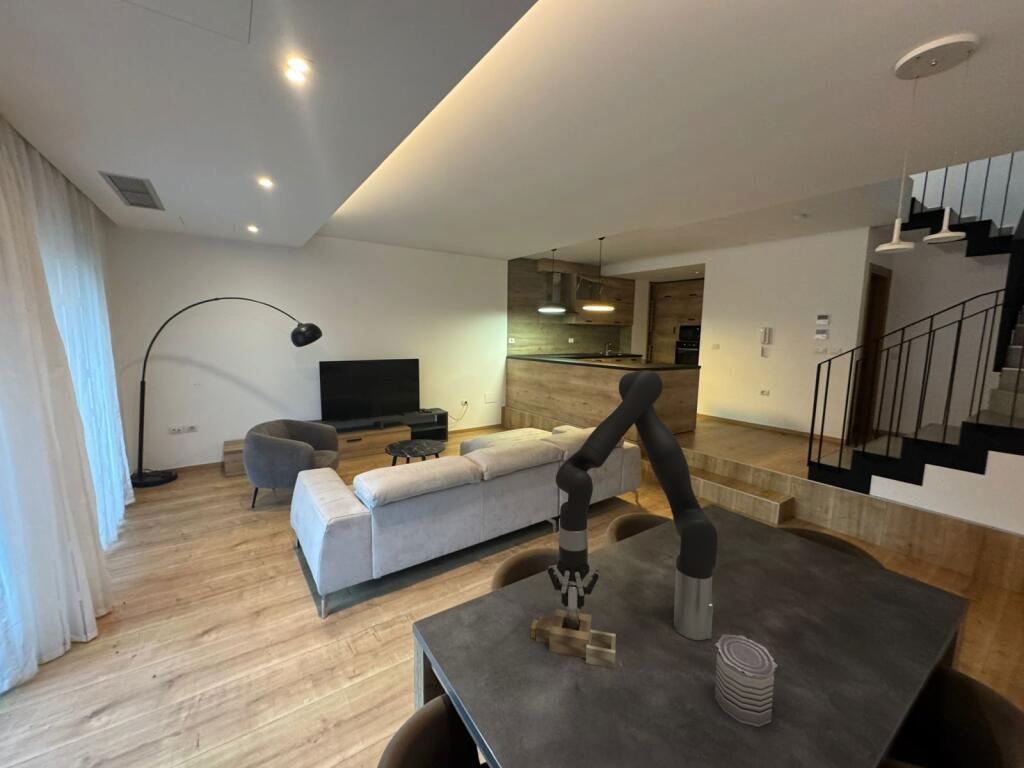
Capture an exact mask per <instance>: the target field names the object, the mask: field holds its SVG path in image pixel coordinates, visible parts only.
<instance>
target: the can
mask: <svg viewBox="0 0 1024 768" xmlns="http://www.w3.org/2000/svg"><path fill="white" fill-rule="evenodd" d="M715 647H716V649H717V652H716V668H715V671H716V672H715V685H714V687H715V688H714V689H715V691H714V699H715V700H716V702H717V703H718V705H719V706H720V708H721V710H722V711H723V712H724V713H726V714H727V715H729V716H730V717H732V718H734V719H735V720H736V721H737V722H739V723H741V724H746V725H749V726H755V727H758V728H759V727H762V726H764V725H766V724H768V723H771V722H772V713H773V697H774V683H775V671H776V669H777V667H778V666H779V665H778V664H777V662H776V661H775V659H774V658H773V657H772V655H771V654H770V653H769V651H768V650H767V648H766V647H765V646H762V644H759V643H758V642H755V641H753V640H751V639H750V638H748V637H746V636H745V635H737V634H724V633H723V634H722V635H721V636H720V638H719V639H717V642H716V643H715Z"/></svg>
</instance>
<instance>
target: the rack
mask: <svg viewBox="0 0 1024 768" xmlns="http://www.w3.org/2000/svg"><path fill="white" fill-rule="evenodd" d="M616 635H617V634H616V633H611V632H606V631H600V630H595V629H592V628H591V629H590V637H589V644H587V645H586V658H585V663H586V664H590V665H596V666H601V667H605V668H610V669H616V640H617V639H616V637H617V636H616Z"/></svg>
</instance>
